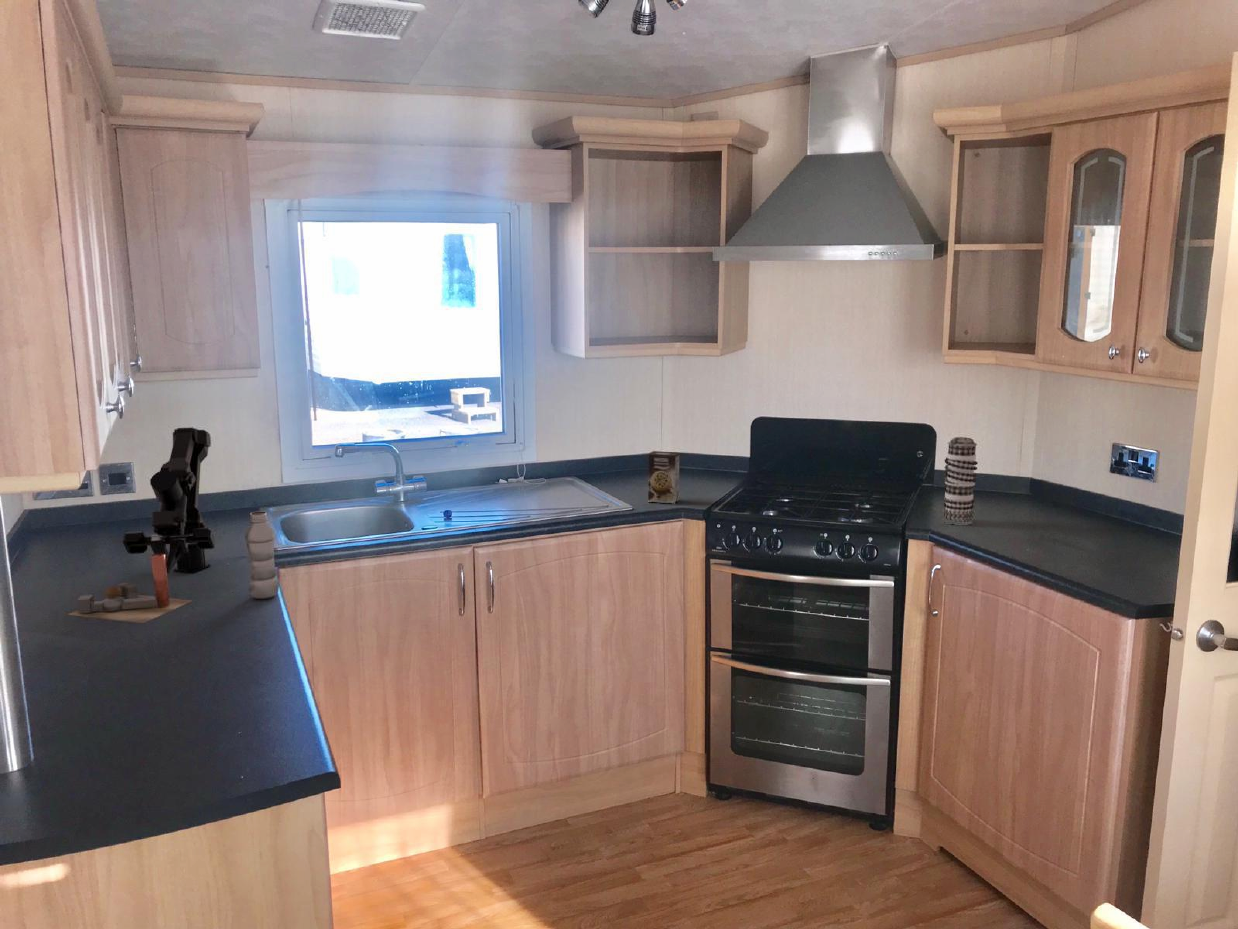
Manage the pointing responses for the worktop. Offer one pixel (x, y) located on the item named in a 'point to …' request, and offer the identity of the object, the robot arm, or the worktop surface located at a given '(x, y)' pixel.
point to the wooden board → (137, 613)
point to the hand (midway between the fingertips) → (166, 573)
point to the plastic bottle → (261, 557)
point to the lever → (119, 603)
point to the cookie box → (663, 477)
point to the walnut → (113, 592)
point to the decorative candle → (960, 479)
